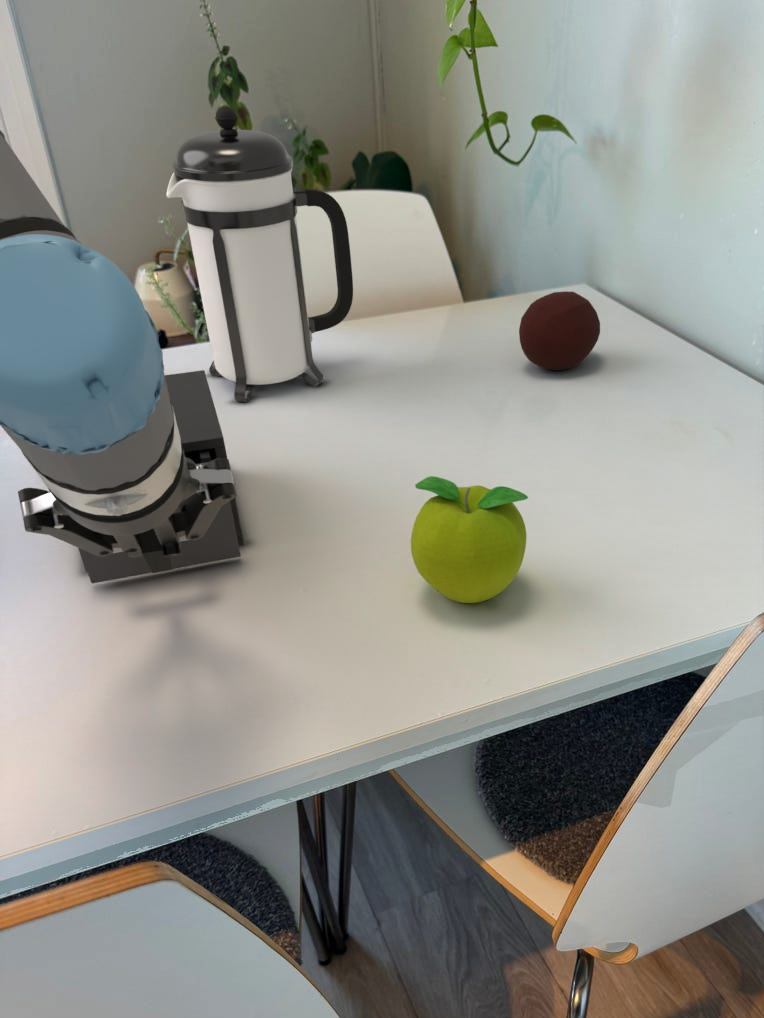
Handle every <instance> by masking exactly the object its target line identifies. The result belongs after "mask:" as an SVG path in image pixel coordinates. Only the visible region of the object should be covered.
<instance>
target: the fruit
mask: <svg viewBox="0 0 764 1018" xmlns="http://www.w3.org/2000/svg"><path fill="white" fill-rule="evenodd" d="M414 486H415V488H416V489H418V490H423V491H428V492H431V493H433V494H435V496H433V497H430V498H429V499H427V501H425V503H424V504H423V505H422V506H421V508H420V509H419V511H418V513H417V515H416V517H415V519H414V523H413V526H412V531H411V537H410V553H411V556H412V560H413V563H414V565H415V567H416V570H417V572H418V573H419V574H420V576H421V577H422V578H423V580H425V581H426V583H427V584H429V585H430V586H431V587H432V588H433V589H434V590H435V591H438V592H439V593H440V594H441V595H443V596H444V597H446V598H448V599H449V600H451V601H453V602H457V603H462V604H475V603H481V602H485V601H487V600H491V599H492V598H494V597H496V596H498V595H499V594H500V593H502V592H503V591H504V590H505V589H506V588H508V586H510V584H511V583H512V582H513V581H514V579H516V576H517V575H518V573H519V571H520V568H521V566H522V565H523V564H522V563H523V561H524V557H525V553H526V547H527V528H526V523H525V521H524V518H523V516H522V514H521V512H520V510H519V509H518V508H517V506H516V505H515V504H514V503H515V502H520V501H524V500H527V499H528V498H529V496H528V495H526V493H523V492H522V491H519V490H516V489H515V488H512V487H508V486H503V485H501V486H500V485H499V486H495V487H493V488H491V489H490V488H488V487H485V486H483V485H470V486H457V484H456V483H454V482H453V481H451V480H448V479H447V478H442V477H438V476H433V475H431V476H427V477H425V478H423V479H421V480H420V481H418V482H417V483H416V484H414Z"/></svg>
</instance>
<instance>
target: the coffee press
mask: <svg viewBox="0 0 764 1018" xmlns="http://www.w3.org/2000/svg"><path fill="white" fill-rule="evenodd" d="M214 120H215V121H216V123H217V125H218V126H219V127H220V128H222V129H220V130H213V131H206V132H202V133H198V134H195V135H192V136H190V137H188V138H186V139H185V140H184V141H183V142H181V144H180V145H178V148H177V150H176V154H175V160H174V161H173V162H172V169H173V170H172V171H173V173H172V175H171V177H170V179H169V181H168V185H167V188H166V198H167V199H172V198H173V199H174V198H181V201H180V204H181V208H182V214H183V219H184V221H185V222H186V223H187V229H188V234H189V240H190V246H191V250H192V255H193V260H194V267H195V271H196V276H197V282H198V287H199V292H200V293H199V294H200V297H201V302H202V309H203V313H204V317H205V324H206V327H207V328H206V329H207V334H208V339H209V344H210V349H211V350H210V351H211V354H212V362H211V364H210V365H209V369H208V372H209V373H210V375H211V376H212V377H214V378H219V377H221V376H222V377H223V378H224V379H226V380H228V381H231V382H233V383H235V384H234V385H235V386H234V394H233V397H234V400H235V402H240V403H249V402H250V400H251V397H252V392H253V389H254V388H255V387H256V386H259V385H260V386H261V385H272V384H278V383H282V382H286V381H290V380H292V379H294V378H298V377H299V378H302V379H303V380H304V381H305V382H306V383H308V385H309V386H311V387H319V386H320V385H321V384H322V383H323V382H324V374H323V373H322V372H321V370H320V369H319V368H318V366H317V365H316V363H315V361H314V358H313V349H312V348H313V347H312V342H313V334H315V333H317V332H322V331H325V330H328V329H331V328H333V327H336V326H337V325H339V324H341V322H343V321H344V320H345V319H346V317H347V316H348V314H349V313H350V310H351V308H352V304H353V300H354V281H353V280H354V279H353V268H352V255H351V246H350V237H349V228H348V223H347V219H346V216H345V213H344V211H343V209H342V207H341V205H340V203H339V202H338V201H337V200H336V199H335V197H333V196H332V195H330V194H329V193H327V192H325V191H323V190H320V189H316V188H303V190H297V191H294V190H293V189H294V188H293V182H292V181H293V180H292V172H293V168H294V159H293V156H292V155H290V154H289V153H288V151H287V149H286V147H285V145H284V144H283V142H282V141H281V140H279V139H278V138H277V137H276V136H274V135H272V134H269V133H267V132H264V131H260V130H253V129H251V130H250V129H235V127H236V125H237V123H238V115H237V113H236V111H235V110H234V109H233V108H232V107H230V106H228V105H222V106H220V107H218V109H217V110H216V112H215V117H214ZM305 206H307V207H317V208H321V209H322V210H323V211H324V213H325V214H326V216H327V218H328V220H329V223H330V228H331V229H330V230H331V236H332V246H333V256H334V263H335V264H334V266H335V275H336V286H337V295H336V296H337V297H336V299H335V300H336V301H335V303H334V305H333V306H332V308H331V309H330V310H329V311H327V312H325V313H323V314H318V315H315V316H311V317H310V316H309V313H308V305H307V304H308V303H307V297H306V295H307V294H306V287H305V279H304V272H303V263H302V255H301V247H300V239H299V230H298V222H297V214H298V207H305ZM308 369H309V370H310V371H311V373H312V374H313V375H314V376H315V378H316V379H317V380H318V381H317V380H316V379H315V378H313V376H311V375H310V374H309V373H308V372H306V371H307V370H308Z"/></svg>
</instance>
